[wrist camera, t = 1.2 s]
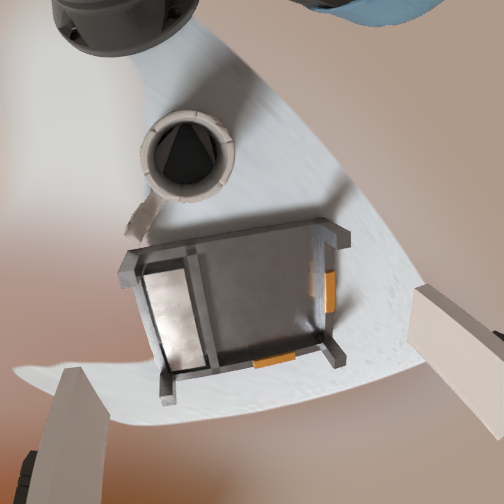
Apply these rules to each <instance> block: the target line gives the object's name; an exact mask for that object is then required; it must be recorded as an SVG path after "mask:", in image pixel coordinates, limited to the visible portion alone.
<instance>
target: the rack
mask: <svg viewBox="0 0 504 504" xmlns="http://www.w3.org/2000/svg"><path fill="white" fill-rule="evenodd" d="M349 247H351V232H350V231H348V230H346V229H344V228H343V227H341V226H339V225H337V224H335V223H333V222H332V221H330V220H328V219H326V218H318V219H311V220H305V221H298V222H292V223H285V224H279V225H273V226H267V227H260V228H254V229H248V230H242V231H236V232H230V233H224V234H218V235H212V236H206V237H201V238H195V239H189V240H183V241H178V242H172V243H166V244H161V245H155V246H150V247H144V248H139V249H134V250H128V251H127V253H126V255H125V258H124V260H123V262H122V264H121V266H120V268H119V270H118V277H119V280H120V284H121V288H122V289H123V288H130V287H133V291H134V294H135V297H136V301H137V305H138V308H139V311H140V315H141V318H142V321H143V325H144V328H145V331H146V334H147V337H148V340H149V343H150V346H151V349H152V352H153V355H154V358H155V361H156V364H157V367H158V369H159V372H160V395H159V397H160V399H161V402H162V404H163V406H169V405H176V381H179V380H186V379H192V378H198V377H203V376H209V375H215V374H220V373H225V372H230V371H235V370H240V369H245V368H250V367H254V368H255V369H257V368H261V367H265V366H270V365H274V364H278V363H282V362H286V361H290V360H294V359H295V357H296V356H300V355H304V354H308V353H312V352H315V351H319V350H321V351H322V352H323V354H324V355H325V356H326V358H327V359H328V361H329V362H330V364H331V365H332V367H333V368H334V369H336V368H339V367H343V366H346V357H347V356H346V354H345V353H344V352H343V350H342V349H341V348H340V347H339V345H338V344H337V343H336V341H335V340H334V339H333V338H332V332H333V312H334V311H335V271H334V270H333V248H335V249H336V250H339V249H344V248H349Z"/></svg>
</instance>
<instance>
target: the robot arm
mask: <svg viewBox="0 0 504 504" xmlns="http://www.w3.org/2000/svg"><path fill="white" fill-rule="evenodd" d="M290 1H293V2H296V3H299V4H302V5H303V6H305V7H307V8H308V9H310V10H312V11H315V12H320V13H330V14H332V15H336V16H338V17H341V18H343V19H346V20H349V21H351V22H354V23H356V24H359V25H363V26H368V27H381V26H386V25H398V24H401V23H405V22H407V21H410V20H413V19H415V18H417V17H419V16H421V15H423V14H425V13H426V12H428V11H430V10H431V9H433V8H434V7H436V6H437V5H438V4H440V3H441V2H442V1H444V0H290ZM198 2H199V0H52V9H53V17H54V21H55V24H56V26H57V28H58V30H59V32H60V33H61V34H62V36H63V37H64V38H65V39H66V40H67V41H68V42H69V43H70V44H72V45H73V46H74V47H75V48H77V49H78V50H80V51H82V52H84V53H87V54H90V55H94V56H99V57H122V56H128V55H133V54H136V53H140V52H143V51H145V50H148V49H150V48H153V47H155V46H157V45H159V44H160V43H162V42H164V41H165V40H167V39H168V38H170V37H171V36H173V35H174V34H175V33H176V32H178V31H179V30H180V29H181V28H182V27H183V26H184V25H185V24H186V22H187V21H188V20H189V19H190V17H191V16H192V14H193V13H194V11H195V9H196V7H197V5H198ZM407 342H408V343H409V344H410V345H411V346H412V347H413V348H414V349H415V350H416V351H417V352H418V353H419V354H420V355H421V356H422V358H423V359H424V360H425V361H426V362H427V363H428V364H429V365H430V366H431V367H432V368H433V369H434V370H435V371H436V372H437V373H438V374H439V375H440V377H442V379H443V380H444V381H445V382H446V383H447V384H448V385H449V386H450V387H451V388H452V389H453V391H454V392H455V393H456V394H457V395H458V396H459V397H460V398H461V399H462V400H463V402H464V403H465V404H466V405H467V406H468V407H469V408H470V409H471V410H472V412H473V413H474V414H475V415H476V416H477V417H478V418H479V419H480V420H481V421H482V423H483V424H484V425H485V426H486V427H487V428H488V430H489V431H490V432H491V433H492V434H493V435H494V436H495V438H496V439H497V440H498V441H499V440H500V439H501V438H502V437H504V334H502V333H499V332H497V331H493V332H491V331H490V330H489V329H487V328H486V327H485V326H483V325H482V324H481V323H480V322H478V321H477V320H476V319H475V318H473V317H472V316H471V315H469V314H468V313H467V312H466V311H464V310H463V309H462V308H460V307H459V306H458V305H456V304H455V303H454V302H452V301H451V300H450V299H448V298H447V297H446V296H444V295H443V294H442V293H440V292H439V291H437V290H436V289H435V288H433V287H432V286H431V285H429V284H426V285H423V286H420V287H417V288H414V296H413V304H412V311H411V318H410V325H409V331H408V337H407ZM109 419H110V414H109V412H108V411H107V409H106V408H105V406H104V405H103V403H102V402H101V400H100V398H99V397H98V395H97V394H96V392H95V390H94V389H93V387H92V385H91V384H90V382H89V380H88V378H87V377H86V375H85V373H84V371H83V370H82V368H81V367H75V368H66V369H64V371H63V373H62V376H61V379H60V382H59V385H58V387H57V390H56V393H55V396H54V399H53V402H52V405H51V408H50V412H49V414H48V418H47V421H46V424H45V427H44V431H43V435H42V438H41V442H40V445H39V449H38V451H30V452H29V454H28V455H27V457H26V458H25V460H24V461H23V465H22V468H21V472H20V475H21V476H20V477H19V480H18V487H17V489H16V493H15V498H14V503H13V504H101V492H102V478H103V467H104V458H105V449H106V441H107V433H108V426H109Z"/></svg>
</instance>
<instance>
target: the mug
mask: <svg viewBox="0 0 504 504" xmlns="http://www.w3.org/2000/svg"><path fill="white" fill-rule="evenodd" d="M180 124H191V125H192V127H193V129H194V130H195V132H196V134H197V135H198V137H199V139H200V140H201V142H202V144H203V145H204V147H205V149H206V150H207V152H208V154H209V155H210V157H211V159H212V160H213V162H214V164H215V165H214V167H213V169H212V170H211V172H210V174H208V175H207V176H206V177H205V178H204V179H202V180H201V181H199V182H196V183H193V184H178V183H175V182H172V181H170V180H169V179H167V178H166V177H165V176H164V175H163V174H162V173H163V170H164V167H165V164H166V161H167V159H168V156H169V153H170V150H171V147H172V145H173V142H174V139H175V137H176V134H177V131H178V129H179V126H180ZM174 126H176V127H175V128H174V129H173V130H172V131H171V132H170V134H169V135H168V136H167V137H166V138H165V139H164V140H163V141H162V142H161V144H160V145H159V146H158V147H157V144H158V142H159V140H160V139H161V137H162V135H163V134H165V133H166V132H167V131H168V130H169V129H171V128H172V127H174ZM209 133H210V135H211V136H212V137H213V139H214V141H215V143H216V148H217V159H216V162H215V157H214V153H213V149H212V145H211V141H210V136H209ZM140 157H141V167H142V171H143V173H144V177H145V179H146V181H147V182H148V184H149V185H150V186H151V188H152V189H153V190H152V192H151V193H150V195H149V196H148V198H147V199H146V200H145V202H144V203H141V204H140V206H139V207H138V208H137V210H136V211H135V212H134V214H133V215H132V217H131V219H130V221H129V223H128V224H127V226H126V229H125V234H124V236H125V238H126V239H128V240H129V241H131V242H132V243H134V244H135V245H139V244H140V243H141V241H142V239H143V237H144V235H145V234H146V232H147V231H148V229H149V228H150V227H151V225H152V222H153V220H154V218H155V217H156V215H157V214H158V213H159V211H160V210H161V208H162V207H163V205H164V204H165V203H166V201H167V200H170V201H173V202H181V203H186V202H188V203H195V202H199V201H203V200H205V199H208V198H210V197H211V196H213V195H215V194H216V193H217V192H218V191H220V190H221V189H222V188H223V185H225V184H226V183H227V181H228V179H229V177H230V175H231V172H232V169H233V166H234V162H235V147H234V143H233V141H232V137H231V135H230V133H229V131H228V130H227V129H226V128H225V126H224V125H223V124H222V122H221V121H220V120H219V119H218V118H216V117H214V116H212V115H210V114H208V113H205V112H202V111H197V110H179V111H172V112H170V113H168V114H167V115H165V116H164V117H162V118H161V119H160V120H158V121H157V122H156V123H155V124H154V125H153V126H152V127H151V128H150V130H149V131H148V133H147V135H146V136H145V139H144V141H143V143H142V145H141V149H140Z"/></svg>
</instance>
